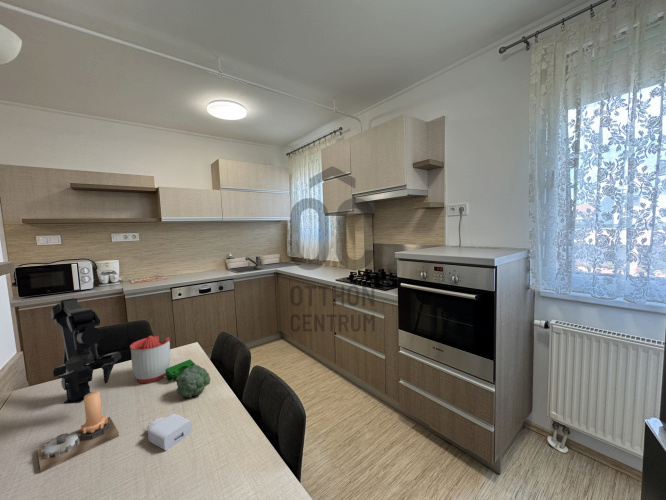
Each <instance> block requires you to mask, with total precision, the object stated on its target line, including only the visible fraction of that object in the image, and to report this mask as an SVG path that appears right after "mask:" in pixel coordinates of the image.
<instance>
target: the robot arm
mask: <svg viewBox="0 0 666 500" xmlns="http://www.w3.org/2000/svg"><path fill="white" fill-rule="evenodd" d="M50 316H51V320H52V321H54V325H55V326H56V327H58V328H59V329H60V331H61V335H62V340H63V346H64V351H65V355H66V356H65V357H66V362H65V363H64V364H61V365H59V366H57V367H54V368H53V370H52V377H53V378H54V377H57V378H58V379H61V381H60V382H61V387H62V389H63V390H64V391H65V392H66V399H65V400H64V401H63V404H72V403H73V404H74V403H82V401H84V396H85V395H87V394H89V393H91V392H92V391H91V388H90V385H89V383H90V382H92V380H93V372H94V369H93V368H92V366H94V365H98V364H102V365H101V366H100V368H101V369H102V373H103V381H104V382H103V383H104V384H105V385H106V384H108V383H109V380H110V377H111V373H112V370H113V368H114V366H115V364H116V363H117V362H118V361H119V360H120V359H122V354H121V352H120V351H115V352H111V353H107V354H105V355H102V356H101V355H100V354H98V350H97V348H98V347H99V342H100V341H101V340H102V338H103V332H102V330H101V329H99V328H97V326H100V324H101V319H100V317H99V315H98V314H97V312H96V311H95V310H93V309H92V308H90V307H83V306H82V305H81V304H80V303H79V301H78V299H77V298H73V297H72V298H66V299H62V300H59V302H58V303H57V304H56V305H54V306H52V307H51V310H50Z"/></svg>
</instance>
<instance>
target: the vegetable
mask: <svg viewBox="0 0 666 500" xmlns="http://www.w3.org/2000/svg"><path fill="white" fill-rule="evenodd" d="M175 380H176V379H175ZM210 382H211V376H210V373H209V372H207V369H205V368H202V366H200V365H197V364H195V365H192V366H190V367H188V368H186V369H184V370H183V371H182V373H181V374H180V375H179V376H178V377H177V380H176V387H177V388H176V393H177V395H179V396H181V397H182V398H191V397H196V396H197V395H201V394H202V392H204V390H205V388H206V387H207V386H209V385H210V384H211V383H210Z"/></svg>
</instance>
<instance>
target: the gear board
mask: <svg viewBox="0 0 666 500" xmlns="http://www.w3.org/2000/svg"><path fill="white" fill-rule="evenodd" d="M106 418H107V420H108V422H107V424H105V425H104V427H103V428H102V429H101V430H99V431H97V432H95V433H92V434H87V432H86V433H85V434H84V433H83V431H81V428H80V429H77V430H75V431H72V432H70V433H68V432H67V433H66V432H65V433H61V434H58V435H57V436H55V437H54V438H52V439H51V441H48V442H46V443H44V444H42V445H39V446H37V447H36V448H37V457H38V463H39V470H40V473H43V472H45V471H47V470H49V469H52V468H54V467H56V466H58V465H60V464H62V463H64V462H67V461H68V460H70V459H73V458H75V457H77V456H79V455H81V454H84V453H86V452H89V451H90V450H92V449H94V448H97V447H98V446H102V445H103V444H105V443H107V442H110V441H111V440H113V439H116V438H118V437H120V434H119V433H120V432H119V430H118V428H117V426H116V425H115V423H114V422H113V420H112V418H111V417H110V416H109V417H106Z"/></svg>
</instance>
